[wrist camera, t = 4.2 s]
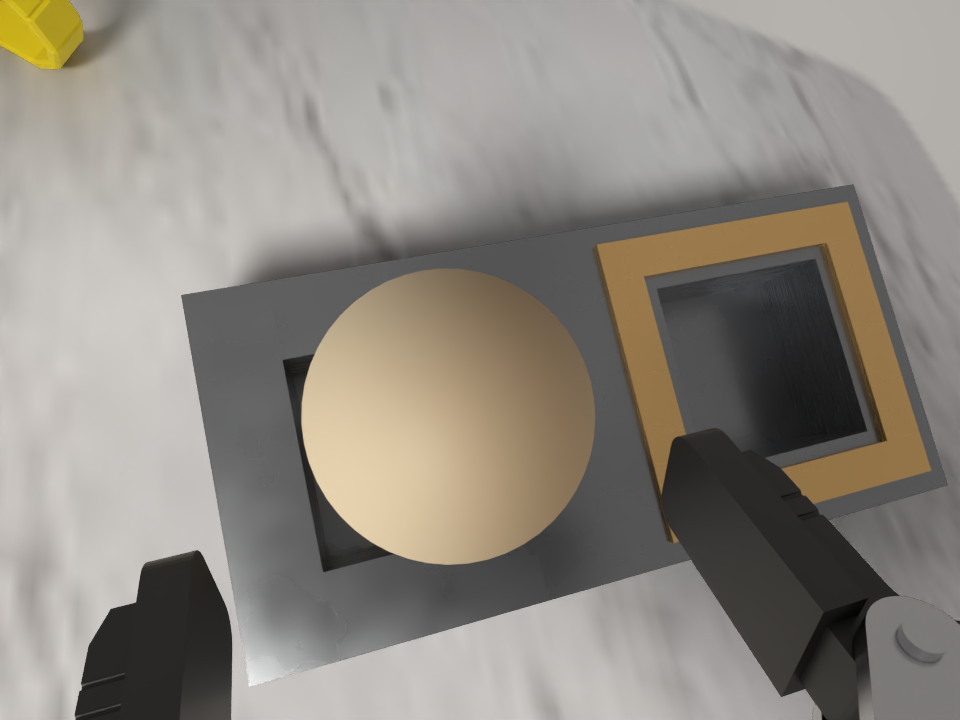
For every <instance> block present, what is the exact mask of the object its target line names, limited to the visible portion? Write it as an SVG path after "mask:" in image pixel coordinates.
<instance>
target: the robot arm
mask: <svg viewBox="0 0 960 720" xmlns="http://www.w3.org/2000/svg"><path fill="white" fill-rule="evenodd" d="M661 501H662V508H663V512H664V515H665V518H666V520H667V523H668V525H669V526H670V528H671V530H672V531H673V533H674V534H675V536H676V537H677V539H678V540H679V542H680V544H681V545H682V547H683V548H684V550H685V551H686V553H687V554H688V556H689V557H690V559H691V560H692V562H693V563H694V565H695V566H696V568H697V569H698V571H699V572H700V574H701V575H702V577H703V579H704V580H705V582H706V583H707V585H708V586H709V588H710V589H711V591H712V592H713V594H714V595H715V597H716V598H717V600H718V601H719V603H720V604H721V606H722V607H723V609H724V610H725V612H726V614H727V615H728V617H729V618H730V620H731V621H732V623H733V624H734V626H735V627H736V629H737V630H738V632H739V633H740V635H741V636H742V638H743V639H744V641H745V642H746V644H747V645H748V647H749V649H750V650H751V652H752V653H753V655H754V656H755V658H756V659H757V661H758V662H759V664H760V665H761V667H762V668H763V670H764V671H765V673H766V674H767V676H768V677H769V679H770V680H771V682H772V684H773V685H774V687H775V688H776V690H777V691H778V693H779V694H780V696H781V697H783V696H786V695H789V694H792V693H794V692H797V691H800V690H803V689H806V691H807V692H808V693H809V695H810V696H811V698H812V699H813V701H814V702H815V705H814V708H813V716H812V719H813V720H960V621H956V620H954V619H953V618H951V617H950V616H949V615H947V614H946V613H944V612H943V611H941V610H940V609H938V608H936V607H934V606H933V605H930V604H928V603H926V602H924V601H921V600H917V599H914V598H909V597H903V596H899V595H898V594H897V593H895V592H894V591H893V590H892V589H891V588H890V587H889V586H888V585H887V584H886V583H885V582H884V581H883V580H882V579H881V577H880V576H879V575H878V574H877V573H876V572H875V571H874V570H873V569H872V568H871V567H870V565H869V564H868V563H867V562H866V561H865V560H864V559H863V558H862V557H861V556H860V554H859V553H858V552H857V551H856V550H855V549H854V548H853V547H852V546H851V545H850V543H849V542H848V541H847V540H846V539H845V538H844V537H843V536H842V535H841V534H840V533H839V531H838V530H837V529H836V528H835V527H834V526H833V525H832V524H831V523H830V522H829V520H828V519H827V518H826V517H825V516H824V515H820V514H819V511H818V508H817V507H816V506H815V505H814V504H813V503H812V502H811V501H810V500H809V499H808V497H807V496H806V495H804V496H803V495H802V493H801V490H800V489H799V488H798V486H797V485H796V484H795V483H794V482H793V481H792V480H791V479H790V478H789V477H788V476H787V474H786V473H785V472H784V471H783V470H782V469H781V468H780V467H779V466H777V465H775V464H774V463H772V462H770V461H769V460H767V459H766V458H764V457H762V456H761V455H759V454H758V453H756V452H754V451H753V450H749V451H745V452H741V451H740V450H739V448H738V447H737V446H736V445H735V444H734V443H733V442H732V440H731V439H730V438H729V437H728V436H727V435H726V434H725V433H724V432H723V431H722V430H720V429H718V428H711V429H707V430H703V431H699V432H694V433H690V434H686V435H682V436H678V437H676V438H674V439H673V441H672V444H671V448H670V453H669V458H668V463H667V468H666V473H665V478H664V483H663V488H662V494H661ZM81 684H82V691H79V696H78V701H77V706H76V711H75V717H76V720H231V689H232V633H231V625H230V620H229V615H228V611H227V608H226V605H225V603H224V601H223V599H222V596H221V594H220V592H219V590H218V588H217V586H216V583H215V581H214V579H213V577H212V575H211V573H210V570H209V568H208V566H207V564H206V562H205V560H204V557H203V556H202V554H201V553H200V552H199V551H198V550H196V551H192V552H188V553H184V554H180V555H175V556H171V557H167V558H163V559H159V560H155V561H150V562H147V563H145V564H144V566H143V568H142V571H141V575H140V581H139V588H138V594H137V601H136V603H133V604H129V605H125V606H121V607H117V608H113V609H111V610H110V611H109V613H108V615H107V616H106V618H105V620H104V621H103V623H102V625H101V626H100V628H99V630H98V631H97V633H96V635H95V636H94V638H93V639H92V641H91V643H90V644H89V647H88V652H87V657H86V662H85V667H84V672H83V677H82V682H81Z"/></svg>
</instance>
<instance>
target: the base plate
mask: <svg viewBox="0 0 960 720" xmlns="http://www.w3.org/2000/svg"><path fill="white" fill-rule="evenodd" d="M432 269H463V270H470V271H476V272H481V273H484V274H488V275H491V276H495V277H497V278H500V279H502V280H505V281H507V282H509V283H512V284H514V285H515V286H517V287H519V288H521V289H522V290H524V291H526V292H527V293H529V294H530V295H532V296H533V297H534V298H536V299H537V300H538V301H540V302H541V303H542V304H543V305H545V306H546V307H547V308H548V309H549V310H550V311H551V312H552V313H553V314H554V315H555V316H556V317H557V318H558V320H559V321H560V322H561V323H562V325H563V326H564V327H565V328H566V330H567V331H568V332H569V334H570V336H571V337H572V339H573V341H574V342H575V344H576V345H577V347H578V349H579V351H580V354H581V356H582V358H583V360H584V362H585V365H586V368H587V371H588V374H589V377H590V381H591V385H592V391H593V396H594V406H595V429H594V439H593V445H592V450H591V455H590V458H589V461H588V464H587V467H586V470H585V473H584V475H583V477H582V479H581V482H580V484H579V486H578V488H577V490H576V492H575V493H574V495H573V496H572V498H571V499H570V501H569V502H568V504H567V505H566V507H565V508H564V509H563V510H562V511H561V513H560V514H559V515H558V516H557V517H556V518H555V520H554V521H553V522H552V523H551V524H549V525H548V526H547V527H546V528H545V529H544V530H543V531H542V532H541V533H539V534H538V535H537V536H535V537H534V538H532V539H531V540H529V541H528V542H526V543H525V544H523V545H521V546H519V547H517V548H515V549H513V550H511V551H510V552H508V553H505V554H502V555H500V556H497V557H494V558H491V559H488V560H483V561H478V562H473V563H468V564H452V565H445V564H432V563H425V562H420V561H416V560H411V559H407V558H405V557H402V556H399V555H396V554H394V553H391V552H389V551H387V550H385V549H383V548H381V547H379V546H377V545H376V544H374V543H372V542H370V541H369V540H368V539H366V538H365V537H363V536H362V535H361V534H359V533H358V532H357V531H355V530H354V529H353V528H352V527H351V526H350V525H349V524H348V523H347V522H346V521H345V520H344V519H343V518H342V517H341V516H340V515H339V514H338V513H337V512H336V510H335V509H334V508H333V506H332V505H331V504H330V503H329V501H328V500H327V498H326V497H325V495H324V493H323V492H322V490H321V488H320V487H319V485H318V483H317V481H316V479H315V476H314V474H313V471H312V469H311V467H310V464H309V461H308V457H307V453H306V450H305V446H304V440H303V432H302V399H303V392H304V385H305V381H306V378H307V374H308V371H309V367H310V364H311V362H312V360H313V357H314V355H315V353H316V350H317V348H318V346H319V344H320V343H321V341H322V340H323V338H324V336H325V335H326V333H327V331H328V330H329V329H330V327H331V326H332V325H333V324H334V322H335V321H336V320H337V319H338V318H339V316H340V315H341V314H342V313H343V312H344V311H345V310H346V309H347V308H348V307H350V306H351V305H352V304H353V303H354V302H355V301H356V300H358V299H359V298H360V297H362V296H363V295H365V294H366V293H367V292H369V291H370V290H372V289H374V288H376V287H378V286H379V285H381V284H383V283H385V282H387V281H390V280H392V279H395V278H397V277H400V276H403V275H406V274H410V273H414V272H419V271H423V270H432ZM181 297H182V302H183V308H184V314H185V320H186V325H187V331H188V337H189V343H190V348H191V354H192V360H193V366H194V371H195V377H196V383H197V388H198V394H199V400H200V406H201V411H202V417H203V423H204V429H205V434H206V440H207V446H208V452H209V457H210V463H211V469H212V475H213V480H214V486H215V492H216V498H217V503H218V509H219V515H220V521H221V526H222V532H223V538H224V544H225V549H226V555H227V561H228V566H229V572H230V578H231V584H232V589H233V595H234V601H235V607H236V612H237V618H238V624H239V630H240V635H241V641H242V647H243V653H244V658H245V664H246V670H247V676H248V681H249V687H251V686H254V685H258V684H261V683H265V682H268V681H272V680H275V679H278V678H282V677H285V676H289V675H292V674H296V673H299V672H303V671H306V670H310V669H313V668H317V667H320V666H324V665H327V664H330V663H334V662H337V661H341V660H344V659H348V658H351V657H355V656H358V655H362V654H365V653H369V652H372V651H375V650H379V649H382V648H386V647H389V646H393V645H396V644H400V643H403V642H407V641H410V640H414V639H417V638H421V637H424V636H427V635H431V634H434V633H438V632H441V631H445V630H448V629H452V628H455V627H459V626H462V625H466V624H469V623H472V622H476V621H479V620H483V619H486V618H490V617H493V616H497V615H500V614H504V613H507V612H511V611H514V610H518V609H521V608H524V607H528V606H531V605H535V604H538V603H542V602H545V601H549V600H552V599H556V598H559V597H563V596H566V595H569V594H573V593H576V592H580V591H583V590H587V589H590V588H594V587H597V586H601V585H604V584H608V583H611V582H615V581H618V580H621V579H625V578H628V577H632V576H635V575H639V574H642V573H646V572H649V571H653V570H656V569H660V568H663V567H666V566H670V565H673V564H677V563H680V562H684V561H687V560H691V559H690V557H689V556H688V554H687V553H686V551H685V550H684V548H683V547H682V545H681V544H680V542H679V540H678V539H677V537H676V536H675V534H674V533H673V531H672V530H671V528H670V526H669V525H668V523H667V520H666V518H665V515H664V512H663V508H662V501H661V494H662V488H663V483H664V478H665V473H666V468H667V463H668V458H669V453H670V448H671V444H672V441H673V439H674V438H676V437H678V436H682V435H686V434H690V433H694V432H699V431H703V430H707V429H711V428H718V429H720V430H722V431H723V432H724V433H725V434H726V435H727V436H728V437H729V438H730V439H731V440H732V442H733V443H734V444H735V445H736V446H737V447H738V448H739V450H740V451H741V452H745V451H749V450H753V451H754V452H756V453H758V454H759V455H761V456H762V457H764V458H766V459H767V460H769V461H770V462H772V463H774V464H775V465H777V466H779V467H780V468H781V469H782V470H783V471H784V472H785V473H786V474H787V476H788V477H789V478H790V479H791V480H792V481H793V482H794V483H795V484H796V485H797V486H798V488H799V489H800V490H801V493H802V495H803V496H804V495H806V496H807V497H808V499H809V500H810V501H811V502H812V503H813V504H814V505H815V506H816V507H817V508H818V511H819V514H820V515H824V516H825V517H826V518H827V519H828V520H829V519H833V518H836V517H840V516H843V515H847V514H850V513H854V512H857V511H860V510H864V509H867V508H871V507H874V506H878V505H881V504H885V503H888V502H892V501H895V500H899V499H902V498H905V497H909V496H912V495H916V494H919V493H923V492H926V491H930V490H933V489H937V488H940V487H944V486H947V482H946V478H945V475H944V472H943V469H942V466H941V462H940V459H939V456H938V453H937V450H936V447H935V443H934V440H933V437H932V434H931V431H930V427H929V424H928V421H927V418H926V415H925V411H924V408H923V405H922V402H921V399H920V395H919V392H918V389H917V386H916V383H915V379H914V376H913V373H912V370H911V367H910V363H909V360H908V357H907V354H906V351H905V347H904V344H903V341H902V338H901V335H900V332H899V328H898V325H897V322H896V319H895V316H894V312H893V309H892V306H891V303H890V300H889V296H888V293H887V290H886V287H885V284H884V280H883V277H882V274H881V271H880V268H879V264H878V261H877V258H876V255H875V252H874V248H873V245H872V242H871V239H870V236H869V232H868V229H867V226H866V223H865V220H864V217H863V213H862V210H861V207H860V204H859V201H858V197H857V194H856V191H855V188H854V185H853V184H852V185H846V186H840V187H834V188H828V189H822V190H816V191H810V192H804V193H798V194H792V195H786V196H780V197H774V198H768V199H761V200H755V201H749V202H743V203H737V204H731V205H725V206H719V207H713V208H707V209H701V210H695V211H689V212H683V213H677V214H670V215H664V216H658V217H652V218H646V219H640V220H634V221H628V222H622V223H616V224H610V225H604V226H598V227H592V228H586V229H580V230H573V231H567V232H561V233H555V234H549V235H543V236H537V237H531V238H525V239H519V240H513V241H507V242H501V243H495V244H489V245H482V246H476V247H470V248H464V249H458V250H452V251H446V252H440V253H434V254H428V255H422V256H416V257H410V258H404V259H398V260H392V261H385V262H379V263H373V264H367V265H361V266H355V267H349V268H343V269H337V270H331V271H325V272H319V273H313V274H307V275H301V276H294V277H288V278H282V279H276V280H270V281H264V282H258V283H252V284H246V285H240V286H234V287H228V288H222V289H216V290H210V291H204V292H197V293H191V294H185V295H181Z"/></svg>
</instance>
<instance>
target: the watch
mask: <svg viewBox="0 0 960 720" xmlns="http://www.w3.org/2000/svg"><path fill="white" fill-rule="evenodd" d="M82 41H83V24H82V20H81V19H80V16H79V14H78V13H77V11H76V10H75V9H74V7H73V6H72V4H71V3H70V1H69V0H0V46H2V47H4V48H5V49H7V50H9V51H11V52H12V53H14V54H16V55H18V56H20V57H21V58H23V59H25V60H27V61H28V62H30V63H32V64H34V65H35V66H37V67H39V68H40V69H60V68H61V67H62V66H63V65H64V63H65V62H66V61H67V59H68V58H69V57H70V56H71V54H72V53H73V52H74V51H75V49H76V48H77V47H78V46H79V44H80V43H81V42H82Z"/></svg>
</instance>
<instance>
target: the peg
mask: <svg viewBox="0 0 960 720" xmlns="http://www.w3.org/2000/svg"><path fill="white" fill-rule="evenodd" d="M594 429H595V406H594V396H593V391H592V385H591V381H590V377H589V374H588V371H587V368H586V365H585V362H584V360H583V358H582V356H581V354H580V351H579V349H578V347H577V345H576V344H575V342H574V341H573V339H572V337H571V336H570V334H569V332H568V331H567V330H566V328H565V327H564V326H563V325H562V323H561V322H560V321H559V320H558V318H557V317H556V316H555V315H554V314H553V313H552V312H551V311H550V310H549V309H548V308H547V307H546V306H545V305H543V304H542V303H541V302H540V301H538V300H537V299H536V298H534V297H533V296H532V295H530V294H529V293H527V292H526V291H524V290H522V289H521V288H519V287H517V286H515V285H514V284H512V283H509V282H507V281H505V280H502V279H500V278H497V277H495V276H491V275H488V274H484V273H481V272H476V271H470V270H463V269H432V270H423V271H419V272H414V273H410V274H406V275H403V276H400V277H397V278H395V279H392V280H390V281H387V282H385V283H383V284H381V285H379V286H378V287H376V288H374V289H372V290H370V291H369V292H367V293H366V294H365V295H363V296H362V297H360V298H359V299H358V300H356V301H355V302H354V303H353V304H352V305H351V306H350V307H348V308H347V309H346V310H345V311H344V312H343V313H342V314H341V315H340V316H339V318H338V319H337V320H336V321H335V322H334V324H333V325H332V326H331V327H330V329H329V330H328V331H327V333H326V335H325V336H324V338H323V340H322V341H321V343H320V344H319V346H318V348H317V350H316V353H315V355H314V357H313V360H312V362H311V364H310V367H309V371H308V374H307V378H306V381H305V385H304V392H303V399H302V432H303V440H304V446H305V450H306V453H307V457H308V461H309V464H310V467H311V469H312V471H313V474H314V476H315V479H316V481H317V483H318V485H319V487H320V488H321V490H322V492H323V493H324V495H325V497H326V498H327V500H328V501H329V503H330V504H331V505H332V506H333V508H334V509H335V510H336V512H337V513H338V514H339V515H340V516H341V517H342V518H343V519H344V520H345V521H346V522H347V523H348V524H349V525H350V526H351V527H352V528H353V529H354V530H355V531H357V532H358V533H359V534H361V535H362V536H363V537H365V538H366V539H368V540H369V541H370V542H372V543H374V544H376V545H377V546H379V547H381V548H383V549H385V550H387V551H389V552H391V553H394V554H396V555H399V556H402V557H405V558H407V559H411V560H416V561H420V562H425V563H432V564H445V565H452V564H468V563H473V562H478V561H483V560H488V559H491V558H494V557H497V556H500V555H502V554H505V553H508V552H510V551H511V550H513V549H515V548H517V547H519V546H521V545H523V544H525V543H526V542H528V541H529V540H531V539H532V538H534V537H535V536H537V535H538V534H539V533H541V532H542V531H543V530H544V529H545V528H546V527H547V526H548V525H549V524H551V523H552V522H553V521H554V520H555V518H556V517H557V516H558V515H559V514H560V513H561V511H562V510H563V509H564V508H565V507H566V505H567V504H568V502H569V501H570V499H571V498H572V496H573V495H574V493H575V492H576V490H577V488H578V486H579V484H580V482H581V479H582V477H583V475H584V473H585V470H586V467H587V464H588V461H589V458H590V455H591V450H592V445H593V439H594Z"/></svg>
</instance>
